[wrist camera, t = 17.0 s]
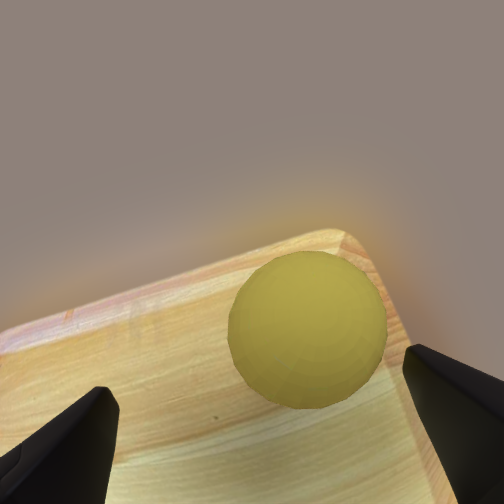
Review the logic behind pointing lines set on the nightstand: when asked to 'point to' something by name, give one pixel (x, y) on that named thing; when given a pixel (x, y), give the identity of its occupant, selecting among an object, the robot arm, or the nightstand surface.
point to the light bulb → (307, 330)
